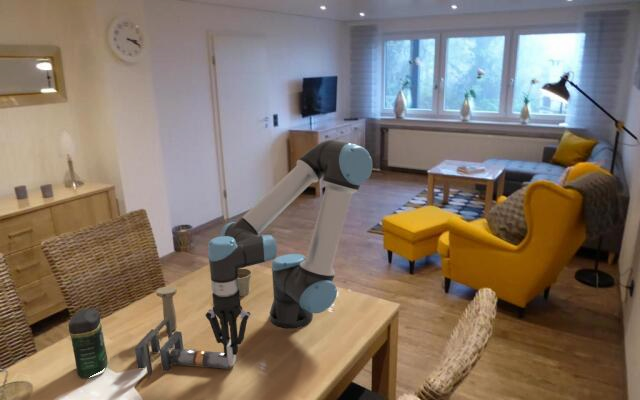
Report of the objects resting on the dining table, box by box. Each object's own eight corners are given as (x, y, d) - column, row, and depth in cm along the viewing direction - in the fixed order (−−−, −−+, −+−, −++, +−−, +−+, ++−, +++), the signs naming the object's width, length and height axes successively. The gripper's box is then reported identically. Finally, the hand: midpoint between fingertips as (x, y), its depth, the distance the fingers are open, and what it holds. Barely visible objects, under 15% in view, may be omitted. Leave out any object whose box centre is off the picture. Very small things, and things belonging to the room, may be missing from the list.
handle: (179, 333, 151) (173, 293, 146) (159, 333, 150) (154, 293, 146) (183, 325, 155) (178, 286, 151) (164, 325, 155) (159, 286, 151)
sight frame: (173, 346, 143) (169, 316, 140) (150, 374, 130) (145, 342, 127) (171, 346, 144) (167, 315, 140) (147, 374, 130) (142, 341, 127)
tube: (232, 361, 135) (231, 349, 133) (228, 372, 131) (226, 360, 129) (177, 356, 138) (174, 345, 136) (170, 367, 134) (168, 355, 132)
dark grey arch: (183, 351, 141) (181, 331, 138) (168, 371, 131) (165, 350, 129) (178, 351, 141) (175, 331, 139) (162, 370, 132) (159, 349, 130)
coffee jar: (105, 376, 130) (95, 320, 125) (75, 382, 128) (63, 325, 123) (110, 356, 139) (100, 303, 134) (82, 362, 137) (71, 308, 131)
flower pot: (233, 287, 182) (231, 267, 179) (256, 288, 180) (254, 268, 178) (225, 298, 173) (223, 278, 170) (249, 299, 172) (247, 279, 169)
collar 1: (160, 349, 142) (157, 329, 140) (144, 368, 133) (140, 348, 131) (154, 349, 142) (151, 329, 140) (137, 368, 133) (134, 347, 131)
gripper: (198, 296, 123) (206, 369, 130) (243, 298, 121) (249, 372, 128) (209, 283, 130) (216, 353, 137) (252, 286, 128) (257, 356, 135)
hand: (232, 362), depth 132 cm, fingers closed
